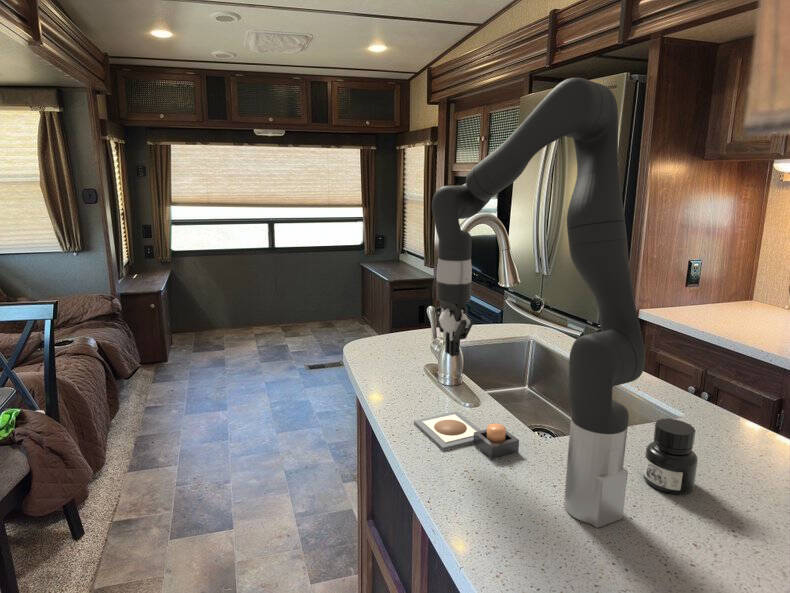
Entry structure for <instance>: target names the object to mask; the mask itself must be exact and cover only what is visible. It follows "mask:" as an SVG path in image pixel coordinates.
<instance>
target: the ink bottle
mask: <svg viewBox="0 0 790 593" xmlns="http://www.w3.org/2000/svg"><path fill="white" fill-rule="evenodd" d="M654 423H655V424H654V430H653V431H654V433H653V442H650V443H648V445H647V446H646V448H645V454H644V455H645V456H644V462H643V470H642V471H643V474H642V476H643V479H644V481H645V482H646V483H647V484H648V485H650V486H651V487H653V488H654V489H656V490H658V491H660V492H663V493H665V494H671V495H684V494H688V493H691V492H692V491H693V490H694V488H695V482H696V476H697V470H698V469H697V468H698V463H699V462H698V461H699V459H698V455H697V453H695V451H694V450H693V448H694V443H695V438H696V437H695V436H696V429H695V427H694V426H692V425H691V424H690V423H687V422H685V421H683V420H680V419H679V420H678V419H674V418H673V419H672V418H661V419H657V421H655V422H654Z"/></svg>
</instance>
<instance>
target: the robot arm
mask: <svg viewBox="0 0 790 593" xmlns="http://www.w3.org/2000/svg"><path fill="white" fill-rule="evenodd" d="M618 107H619V106H618V103H617V99H616V96H615V94H614V93H613V91H612V90H611V89H610V88H609V87H607V86H606V85H604V84H602V83H599V82H595V81H593V80H592V81H591V80H590V79H586V78H582V77H570V78H566V79H564V80H563V81H561V82H559V83H558V84H557V85H556V86H555V87H553V89H551V90H550V91H549V93H548V94H547V95H546V96H545V97H543V99H542V100H541V101H540V102H539V103H538V105H537V106H536V107H535V108H534V109H533V110H532V111H531V113H530V114H529V115H528V116H527V117H526V118H525V119H524V120H523V122H521V124H520V125H519V126H518V127H517V128H516V129H515V130H514V131H513V132H512V133H511V134H510V135H509V137H507V139H505V140H504V141H503V142H502V143H501V144H500V145H499V146H498V147H497V148H495V150H493V151H492V152H491V153H489V154H488V155H487V156H486V157H484V158H483V159H482V160H481V161H479V162H478V163H477V164H476V165H475V166H473V167H472V168H471V169H470V170H469V171H468V172H467V175H466V178H465V183H464V184H462V185H444V186H441V187H440V188H438V189H437V190H436V191H435V192H434V195H433V197H432V201H431V211H432V212H431V213H432V217H433V221H434V225H435V230H436V234H437V237H438V254H437V255H438V260H437V267H436V300H437V301H439V302H440V306H438V307H435V308H434V314H435V318H436V322H437V326H438V329H439V332H440V333H442V334H443V337H444V338H445V340H444V341H445V344H444V347H445V348H444V349H445V350H444V353H445V354H447V355H449V356H450V357H451V356H453V357H457V356H459V355H460V343H461V342H460V341H461V340H466V339H467V338H468V334H469V333H470V331H471V328H472V327H473V325H474V320H473V319H472V318H468V316H467V314H468V312H467V303H469V302H470V300H471V299H472V275H473V274H472V272H473V270H472V235H471V233H470V232H468V231H466V230H462V228H461V225H460V220H462V219H469V218H472V217H473V216H476V215H477V214H478V213H479V212H481V211H482V210H483V209H484V207H485V206H486V205H487V204H488V203H489V202H490V201H491V199H492V198H493V197H494V196H496V195H497V194H499V193H500V192H502V191H503V190H504V189H506V188H507V187H509V186H510V185H511V184H512V183H514V182H515V181H516V180H517V179H518V178H519V177H520V176H521V175H522V174H523V172H524V171H525V169H526V168H527V166H528V164H529V163H530V162H531V160H532V159H533V158H534V157H535V155H537V153H539V152H541V150H543V149H544V148H546V146H548V145H551V144H552V143H554V142H556V141H557V140H559V139H562V138H564V137H566V138H567V137H568V138H570V139H571V138H572V140H573V144H574V150H575V158H576V166H577V168H576V169H577V170H576V180H575V184H574V187H573V191H572V194H571V198H570V201H569V203H568V204H569V205H568V209H567V212H566V213H567V214H566V228H567V229H566V232H567V240H568V247H569V255H570V258H571V261H572V263H573V265H574V267H575V269H576V270H577V272H578V273H579V275H580V277H581V279H582V280H583V281H584V283H585V284H586V285H587V287H588V288H589V290H590V291H591V293H592V295H593V297H594V300H595V302H596V306H597V309H598V310H597V311H598V315H599V321H600V322H599V323H600V324H599V325H600V331H599V332H594V333H589V334H588V333H587V334H585V335H584V334H583V335H581V336H579V337H577V338H576V339H575V341H574V342H573V344H572V346H571V347H570V348H571V349H570V351H569V359H568V360H569V361H568V390H567V391H568V392H567V394H568V395H567V396H568V404H569V406H570V412H571V413H570V414H571V415H570V424H569V425H570V426H569V437H568V438H569V439H568V440H569V441H568V448H567V449H568V450H567V451H568V452H567V458H566V459H567V461H566V462H567V463H566V473H565V485H564V486H565V487H564V497H563V505H564V506H563V507H564V508H565V511H567V513H568V514H569V515H570V516H572V517H573V518H574V519H576V520H579V521H581V522H582V523H583V522H584V523H586V524H590V525H592V526H593V527H595V528H597V529H598V528H601V527H603V526H606V525H609V524H612V523H615V522H618V521H620V520H622V519H623V518H624V511H625V499H626V491H627V483H628V482H627V481H628V472H629V471H628V470H627V469H626V468H625V467H624V465H625V453H626V443H627V436H628V426H629V421H630V420H629V417H630V415H629V410H628V409H627V408H626V406H624V404H622V403H620V402H618V401H616V400H615V399H613V388H614V387H615V386H616V387H617V386H621V385H624V384H628V383H633V382H634V381H636V380H638V379H639V378H640V377H641V376H642V374H643V372H644V371H645V365H646V349H645V345H644V339H643V334H642V330H641V325H640V321H639V316H638V312H637V307H636V303H635V298H634V297H635V295H634V290H633V289H634V288H633V282H632V275H631V274H632V273H631V268H630V261H629V260H630V259H629V247H628V235H627V234H628V233H627V227H626V225H627V224H626V217H625V211H624V203H623V194H622V192H623V191H622V185H621V184H622V183H621V182H622V181H621V175H620V167H619V166H620V165H619V111H618V110H619V108H618ZM447 308H449V309H450V311H447V313H448V315H449V317H451V316H452V315H454V318H455V321H456V322H458V321H461V322H459V326H458V328H457V331H456V333H454V332H453V331H452V332H451V333H448V332H446V331H445V330H444V329H443V328H442V327H441V325H440V321H439V317H440V315H441V313H442V312H443V311H445V310H446V309H447Z"/></svg>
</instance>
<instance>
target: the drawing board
mask: <svg viewBox="0 0 790 593" xmlns="http://www.w3.org/2000/svg"><path fill="white" fill-rule="evenodd" d="M413 424H414V426H416V427H417V428H418V429H419V430H420V431H421V432H422V433H423V434H424V435H425V436H426V437H427V438H429V439H430V440H431V442H433V443H434V444H435V446H437V447H438V449H440V450H441V451H442V452H444V451H445V452H446V451H447V450H448V451H449V450H452V449H456V448H460V447H464V446H469V445H473V439H474V432H478V431H482V429H481V428H479V427H478V426H476V425H475V423H472V421H470V420H468V418H466V417H465V416H464V415H462V414H461V413H460V412H459V411H453V412H448V413H444V414H443V413H442V414H439V415H434V416H430V417H424V418H420V419H417V420H413Z"/></svg>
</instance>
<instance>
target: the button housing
mask: <svg viewBox="0 0 790 593" xmlns="http://www.w3.org/2000/svg"><path fill="white" fill-rule="evenodd" d="M481 430H482V429H481ZM472 445H473V446H474V447H476V449H478V450H479V451H480V452H482V453H483V454H484V455H486V457H487V458H489V459H490V460H491V461H493V460H496V459H500V458H504V457H506V456H511V455H514V454H519V448H520V447H519V446H520V439H518V437H516V436H514V435H513V434H512V433H510V432H508V430H506V436H505V441H502V442H498V443H494V444H493V443H492V442H490V441H489V440H488V439H487V428H486V429H483V430H482V431H478V432H474V439H473V444H472Z"/></svg>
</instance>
